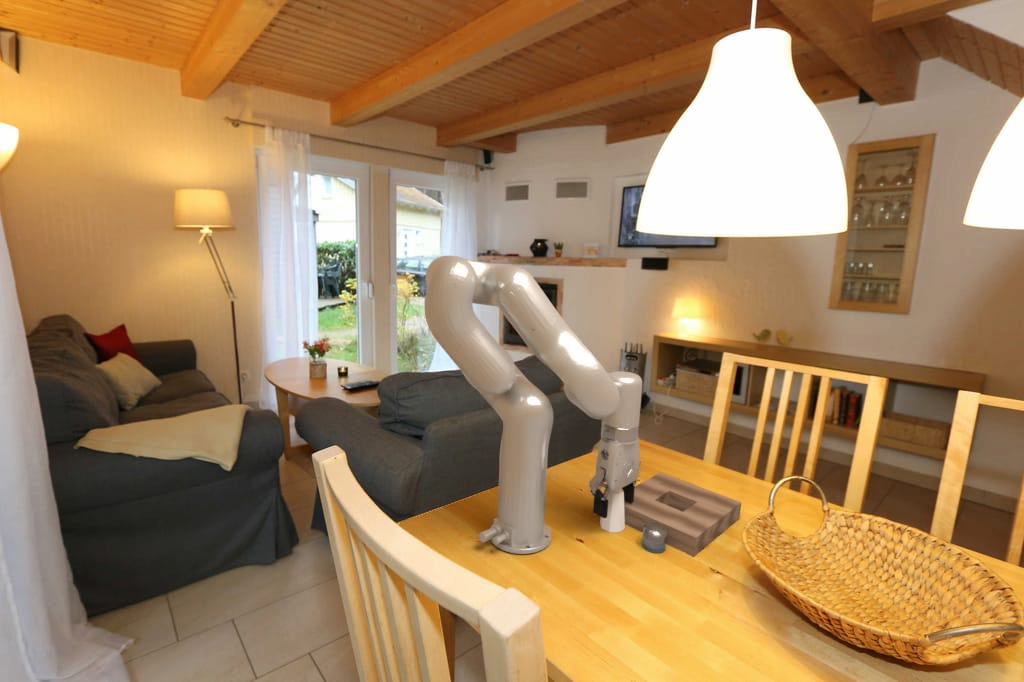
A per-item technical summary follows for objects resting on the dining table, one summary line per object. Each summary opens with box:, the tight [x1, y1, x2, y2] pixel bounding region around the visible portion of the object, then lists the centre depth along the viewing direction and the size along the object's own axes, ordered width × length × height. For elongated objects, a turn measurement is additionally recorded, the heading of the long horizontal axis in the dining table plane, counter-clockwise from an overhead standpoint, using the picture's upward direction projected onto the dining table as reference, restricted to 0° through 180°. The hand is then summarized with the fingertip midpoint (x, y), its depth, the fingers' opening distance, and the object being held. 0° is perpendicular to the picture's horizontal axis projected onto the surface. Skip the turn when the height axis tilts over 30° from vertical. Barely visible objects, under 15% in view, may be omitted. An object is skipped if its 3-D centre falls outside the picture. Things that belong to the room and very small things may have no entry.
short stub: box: [641, 523, 667, 555], centre depth 100 cm, size 5×5×4 cm
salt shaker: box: [599, 488, 626, 534], centre depth 107 cm, size 5×5×11 cm
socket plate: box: [624, 472, 742, 558], centre depth 112 cm, size 22×20×4 cm
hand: (613, 507), depth 107 cm, fingers open, 9 cm apart
